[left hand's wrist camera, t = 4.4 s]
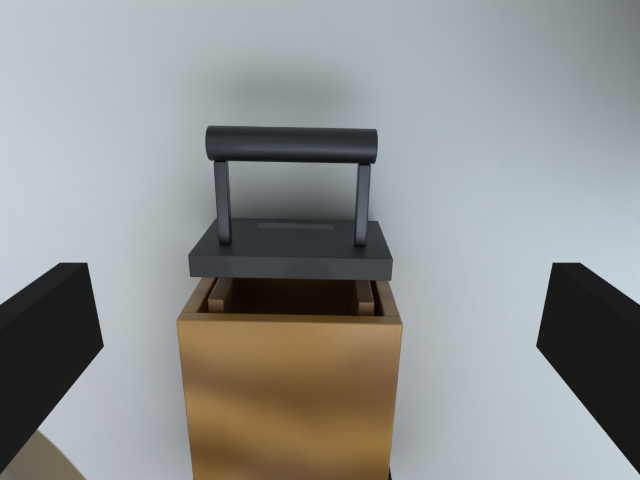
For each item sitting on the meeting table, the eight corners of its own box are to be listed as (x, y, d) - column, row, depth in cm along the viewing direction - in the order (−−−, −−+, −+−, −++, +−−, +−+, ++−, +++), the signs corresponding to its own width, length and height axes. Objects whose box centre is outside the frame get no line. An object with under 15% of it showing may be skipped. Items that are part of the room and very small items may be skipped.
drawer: (209, 117, 25) (176, 129, 19) (384, 121, 25) (403, 134, 19) (230, 440, 33) (211, 515, 27) (363, 443, 33) (371, 518, 27)
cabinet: (212, 258, 29) (175, 320, 21) (382, 261, 29) (403, 324, 21) (228, 472, 35) (203, 576, 28) (366, 475, 35) (378, 579, 28)
